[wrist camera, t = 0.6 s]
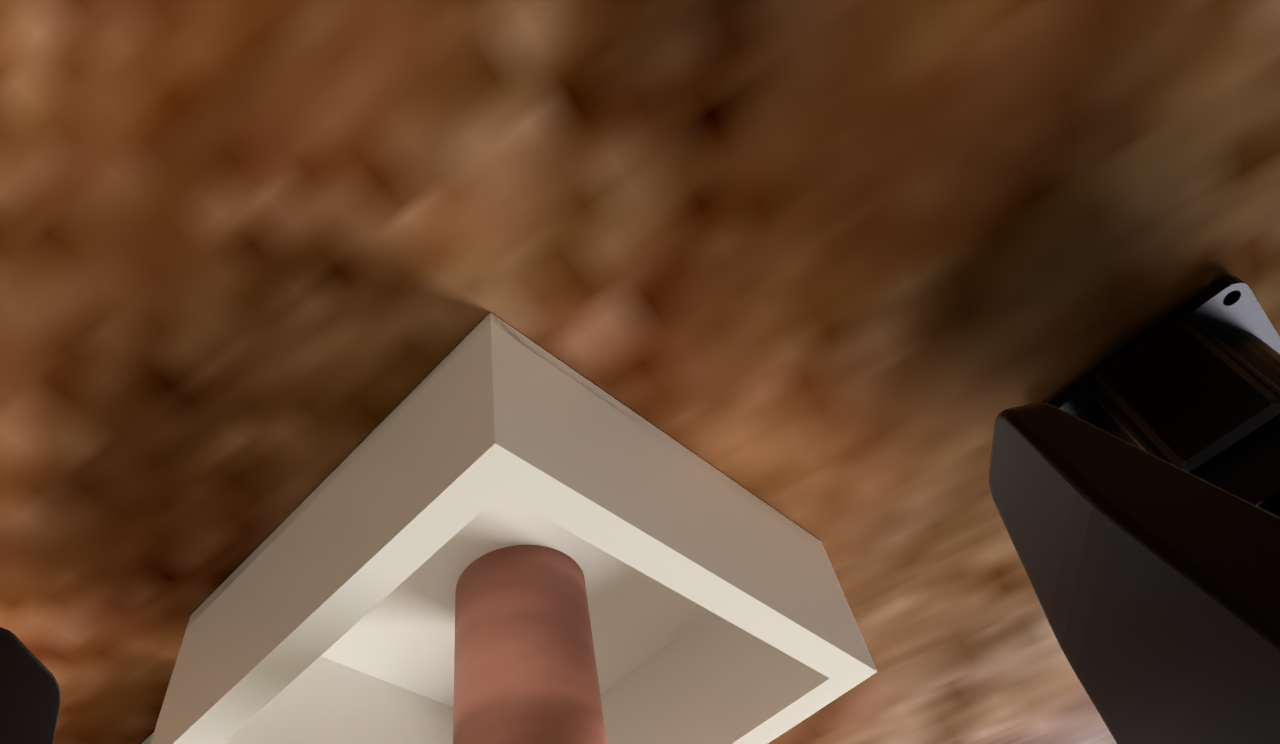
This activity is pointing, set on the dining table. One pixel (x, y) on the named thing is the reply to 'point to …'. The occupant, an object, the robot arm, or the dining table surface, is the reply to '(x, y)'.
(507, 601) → the dowel pin
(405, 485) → the square storage bin
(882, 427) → the dining table surface
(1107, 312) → the dining table surface
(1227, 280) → the robot arm
